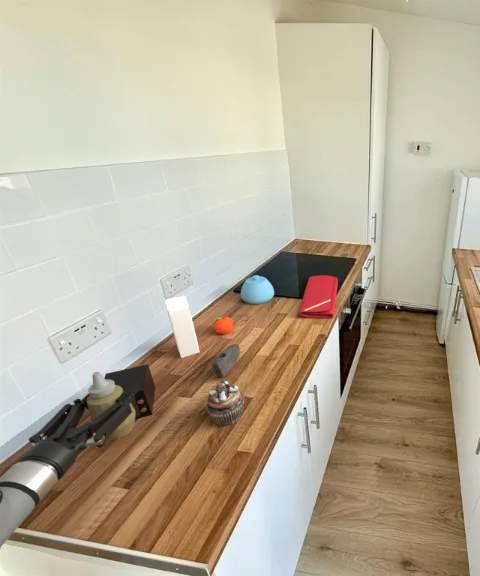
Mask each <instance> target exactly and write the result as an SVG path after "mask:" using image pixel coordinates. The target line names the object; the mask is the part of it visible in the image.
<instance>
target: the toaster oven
mask: <svg viewBox="0 0 480 576" xmlns="http://www.w3.org/2000/svg"><path fill="white" fill-rule="evenodd" d="M104 379H105V380H106V379H110V380H113V381H114V383H115V385H118V386H120V387H121V388H122V389H123V391H125V390H126V389H127V388H128V387H129V385H130V384H131V383H132V382H133V381H137V383H138V385H139V388H140V390H139V391H138V392H137V393H136V394H135V395H134V399H133V400H132V401H131V404H132V406H133V408H134V409H135V411H136V413H135V420H138V419H141V418H145V417H148V416H152V415H153V410H154V403H155V395H156V388H157V387H156V385H155V381H154V378H153V374H152V372H151V369H150V366H149V364H143V365H139V366H134V367H133V366H132V367H129V368H125V369H120V370H116V371H115V370H114V371H112V372H106V373H105V375H104Z"/></svg>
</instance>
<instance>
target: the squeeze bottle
mask: <svg viewBox="0 0 480 576" xmlns="http://www.w3.org/2000/svg"><path fill="white" fill-rule="evenodd" d="M104 378H105V376H103V375H102V374H101V373H100V372H99V371H94V372H93V373H92V384H91V385H90V386H89V388H88V390H87V392H88V394H90V396H89V397H88V398H87V405H88V408H89V409H88V412H89V415H90V419H91V421H92V420H94V419H95V418H97V417H98V416H99V415H101V414H102V413H104V412H105V411H106V410H108V409H109V408H111V407H112V406H113V405H115V404H116V403H117V402H116V399H117V398H118V397H119V396H120V395H121V394H122V393H123V392H124V391H123V389H122V388H121V387H120V386H118V385H115V383H114V381H113V380H110V379H106V380H105V379H104ZM130 407H131V409H132V413H131V414H130V415H129V416H128V417H127V418H126V419H125V420H124V422H123V423H122V424H121V425H120V426H119V427H118V428H117V429H116V430H115V431H114V432H113V433H112V434H111V435H110V436H109V437H108V438H107V440H110V441H112V440H118V439H120V438H123V437H125V436H126V435H128V434H130V432H132V431H133V429H134V428H135V423H136V419H135V413H136V411H135V409H134V408H133V406H132V404H131V403H130Z"/></svg>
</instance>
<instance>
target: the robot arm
mask: <svg viewBox="0 0 480 576" xmlns="http://www.w3.org/2000/svg"><path fill="white" fill-rule="evenodd" d="M139 390H140V388H139V385H138V383H137V381H133V382H132V383H131V384H130V385H129V387H128V388H127V389H126V390H125V391H124V392H123V393H122V394H121V395H120V396H119V397H118V398H117V399H116V402H117V403H116V404H115V405H113V406H112V407H111V408H109V409H108V410H106V411H105V412H104V413H102V414H101V415H99V416H98V417H97V418H95V419H94V420H92V419H91V421H89V422H84V423H83V424H82V425H80V426H79V427H77V426H78V424H79V422H80V420H81V419H82V417H83V415H84V413H85V411H86V410H89V408H88V405H87V398H88V397H89V396H90V394H89V393H87V394H86V395H85V396H84V397H82V398H76V399H74V400H73V404H71V403H66V404H64V405H63V406H62V408H60V409H59V410H58V411H57V412H56V414H55V415H53V417H52V418H50V420H49V421H47V422H46V424H44V425H43V427H41V429H40V430H39V431H37V432H36V433H34V434H33V435H31V436H30V437H28V442H29V443H30V445H31V448H30V449H29V450H28V451H27V452H26V453H25V454H24V455H23V456H22V457H21V458H19V460H18V461H17V462H16V463H14V464H13V465H12V466H11V467H10V468H9V469H8V470H7V471H6V472H5V473H3V474H2V475H1V476H0V550H1V549H2V546H3V545H4V544H5V543H6V542H7V540H8V539H10V538H11V536H12V535H13V534H14V532H15V531H16V530H17V529H18V528H19V527H20V526H21V524H22V523H23V522H24V521H25V520H26V519H27V518H28V516H29V515H30V514H31V513H32V512H33V511H34V509H36V507H37V506H38V505H39V504H40V503H41V502H42V500H43V499H44V498H45V497H46V496H47V495H48V494H49V492H50V491H51V490H52V489H53V488H54V487H55V486H56V485H57V483H58V481H59V480H61V479H62V478H63V477H64V476H65V474H66V473H67V472H68V471H69V470H70V469H71V468H72V466H73V465H74V464H75V462H76V460H77V458H78V456H79V455H80V454H81V453H82V452H84V451H85V450H86V449H87V448H89V447H93V446H96V448H97V449H100V448H102V447H104V446H105V444H106V442H107V440H108V439H107V438H108V437H109V436H110V435H111V434H112V433H113V432H114V431H115V430H116V429H117V428H118V427H119V426H120V425H121V424H122V423H123V422H124V420H125V419H126V418H127V417H128V416H129V415H130V414H131V413H132V409H131V407H130V403H131V401H132V400H133V399H134V395H135V394H136V393H137V392H138V391H139Z"/></svg>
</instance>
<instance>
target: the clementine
mask: <svg viewBox="0 0 480 576" xmlns="http://www.w3.org/2000/svg"><path fill="white" fill-rule="evenodd" d="M212 322H214V323H213V329H214V330H215V332H217V334H220V335H226V334H229V333H230V332H232V331H233V328H234V320H233V319H232V318H230V317H229V316H225V315H223V316H219V317H218V316H217V317H216V318H214V319H213V320H212Z"/></svg>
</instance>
